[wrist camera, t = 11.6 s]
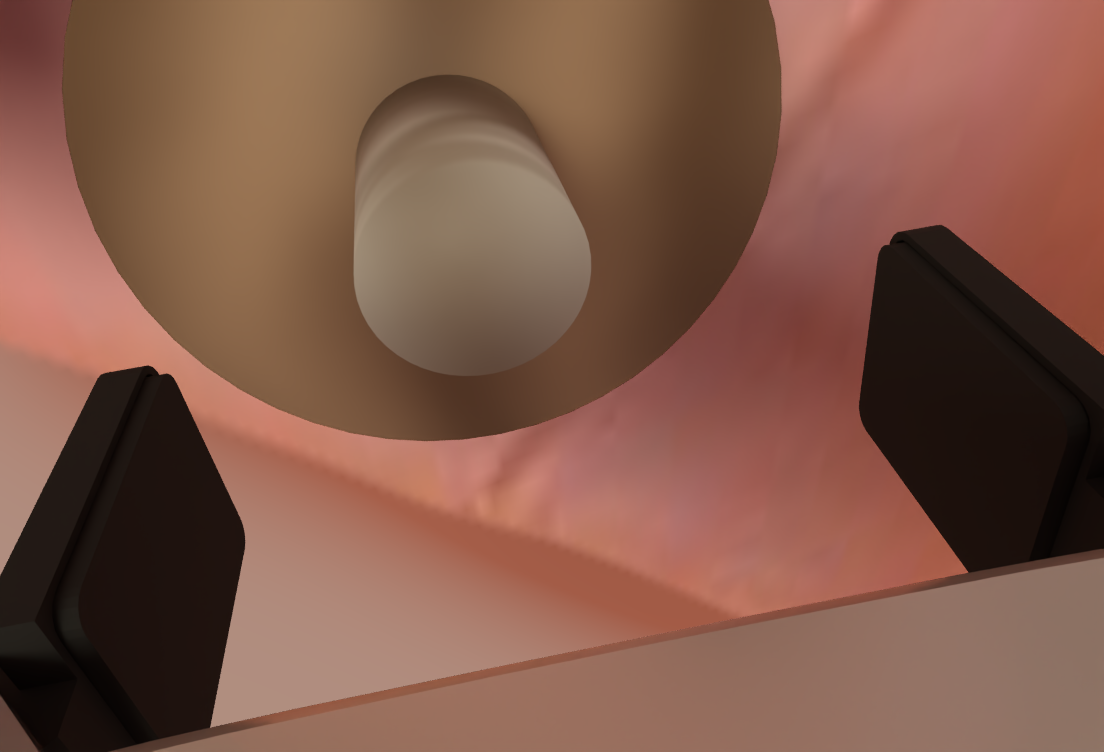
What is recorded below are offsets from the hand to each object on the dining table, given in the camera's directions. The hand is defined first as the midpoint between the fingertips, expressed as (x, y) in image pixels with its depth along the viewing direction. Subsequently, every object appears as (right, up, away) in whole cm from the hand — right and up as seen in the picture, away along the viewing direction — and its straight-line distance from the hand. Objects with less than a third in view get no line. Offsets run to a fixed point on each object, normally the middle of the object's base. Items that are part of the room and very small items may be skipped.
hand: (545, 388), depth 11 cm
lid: (-2, +5, +8) cm, 10 cm away
